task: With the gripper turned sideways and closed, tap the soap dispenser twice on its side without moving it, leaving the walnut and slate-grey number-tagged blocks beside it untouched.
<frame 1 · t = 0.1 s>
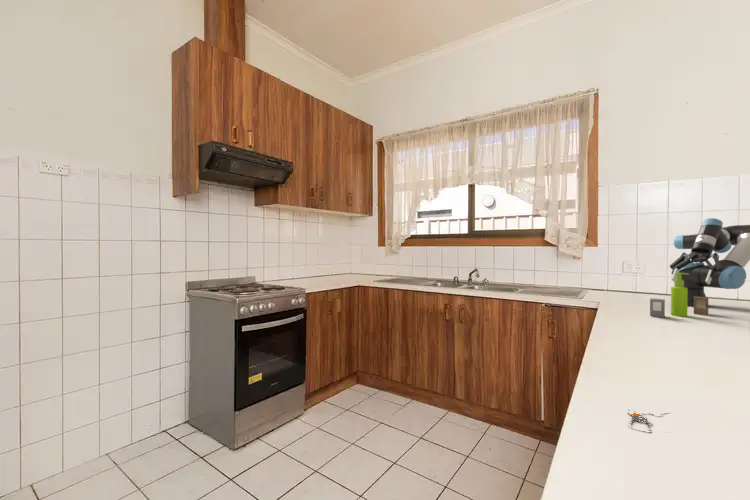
hand: (689, 281, 169), 15 cm above the countertop, tool tilted 35°, fingers open, 13 cm apart
key chain: (648, 421, 66), on the countertop
slate number block: (657, 316, 161), on the countertop
soap dispenser: (680, 315, 163), on the countertop
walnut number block: (700, 313, 166), on the countertop
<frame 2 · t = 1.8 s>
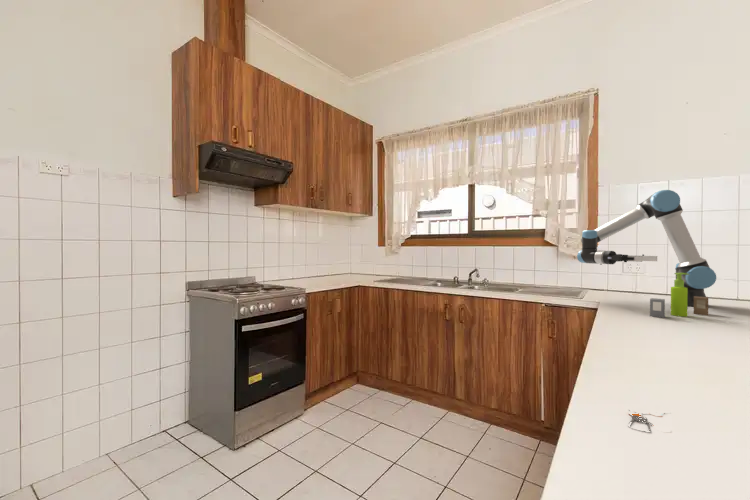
hand: (649, 258, 175), 26 cm above the countertop, tool horizontal, fingers open, 12 cm apart
nothing on the countertop moved.
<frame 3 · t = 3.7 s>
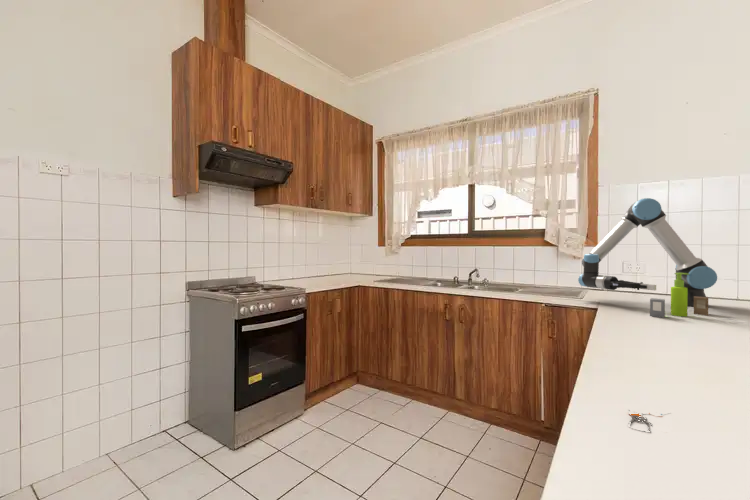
hand: (655, 287, 172), 12 cm above the countertop, tool horizontal, fingers closed
nothing on the countertop moved.
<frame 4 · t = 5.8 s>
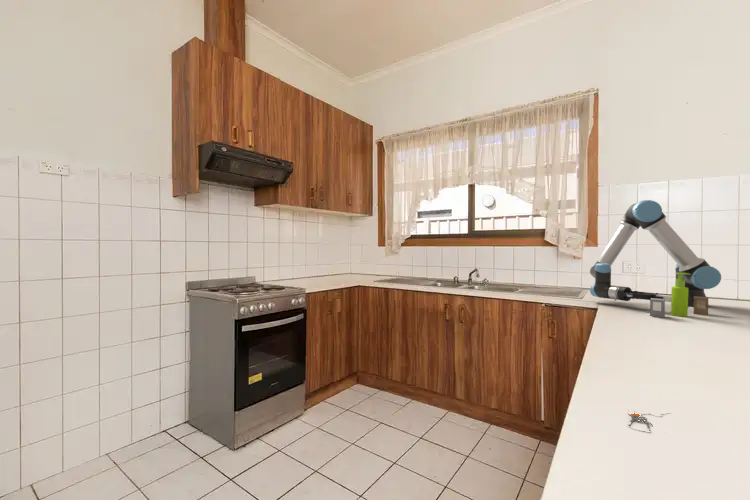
hand: (672, 299, 166), 7 cm above the countertop, tool horizontal, fingers closed
soap dispenser: (680, 315, 163), on the countertop, touching gripper
everything else where it was.
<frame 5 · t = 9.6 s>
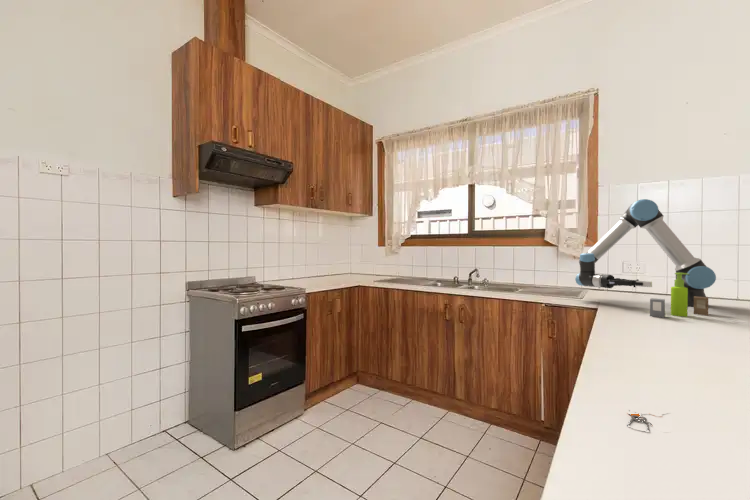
hand: (651, 284, 174), 13 cm above the countertop, tool horizontal, fingers closed
soap dispenser: (680, 315, 163), on the countertop
everything else where it was.
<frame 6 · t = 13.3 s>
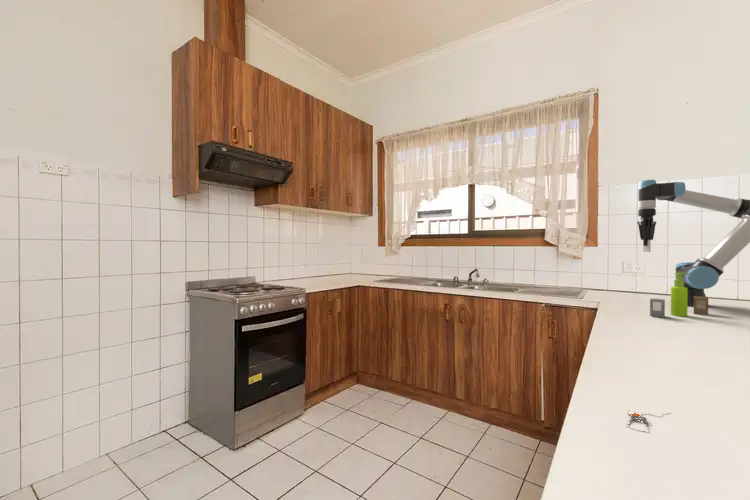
hand: (646, 251, 190), 29 cm above the countertop, tool pointing down, fingers closed
nothing on the countertop moved.
at the end: soap dispenser moved 0.2 cm from its start; soap dispenser tilted 0°; slate number block moved 0.1 cm from its start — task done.
